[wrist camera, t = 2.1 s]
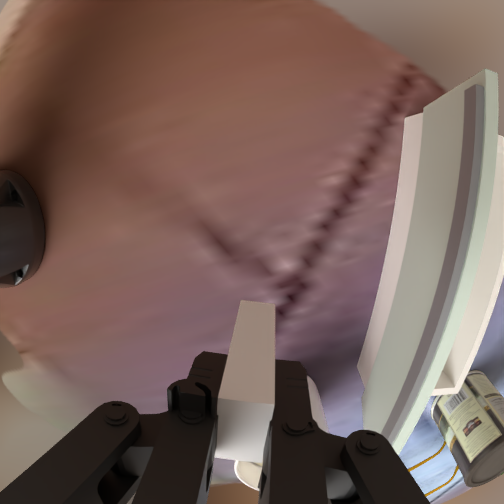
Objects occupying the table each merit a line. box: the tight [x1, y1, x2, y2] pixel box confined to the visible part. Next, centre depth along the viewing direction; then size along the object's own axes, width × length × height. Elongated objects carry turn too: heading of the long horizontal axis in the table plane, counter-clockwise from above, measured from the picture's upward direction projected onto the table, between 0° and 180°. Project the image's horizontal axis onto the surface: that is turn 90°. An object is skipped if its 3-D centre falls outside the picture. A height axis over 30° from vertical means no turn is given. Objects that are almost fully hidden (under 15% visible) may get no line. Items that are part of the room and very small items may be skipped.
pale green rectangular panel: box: [362, 69, 499, 455], centre depth 20 cm, size 12×28×1 cm
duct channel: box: [357, 113, 504, 396], centre depth 28 cm, size 12×28×6 cm, turn 174°
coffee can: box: [431, 370, 504, 487], centre depth 29 cm, size 10×10×14 cm
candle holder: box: [234, 376, 330, 490], centre depth 31 cm, size 10×10×12 cm
